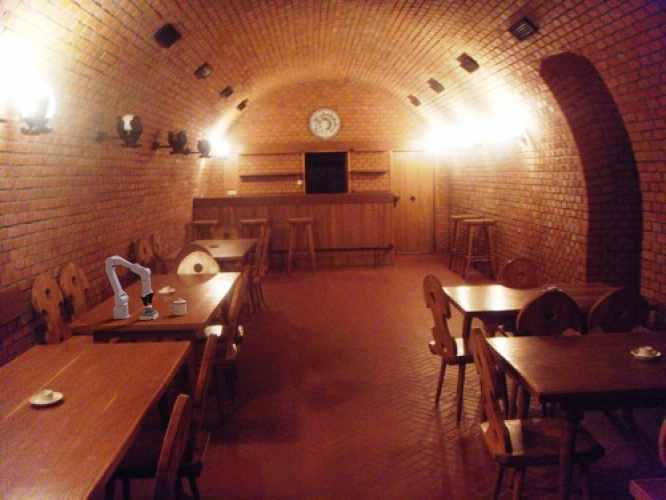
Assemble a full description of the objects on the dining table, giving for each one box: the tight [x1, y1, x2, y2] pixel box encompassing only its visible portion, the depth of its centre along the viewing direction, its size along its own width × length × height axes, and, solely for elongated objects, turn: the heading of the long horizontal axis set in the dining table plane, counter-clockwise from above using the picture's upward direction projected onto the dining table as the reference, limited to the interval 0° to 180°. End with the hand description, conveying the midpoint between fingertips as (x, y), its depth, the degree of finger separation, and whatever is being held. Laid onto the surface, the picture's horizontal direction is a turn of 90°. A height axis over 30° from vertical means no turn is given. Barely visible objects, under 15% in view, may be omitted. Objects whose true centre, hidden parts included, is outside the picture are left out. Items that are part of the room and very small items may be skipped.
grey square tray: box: [139, 309, 159, 321], centre depth 413 cm, size 10×9×4 cm
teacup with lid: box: [168, 297, 188, 316], centre depth 420 cm, size 12×9×12 cm
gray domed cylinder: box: [144, 304, 154, 313], centre depth 412 cm, size 5×5×6 cm
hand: (148, 304), depth 412 cm, fingers open, 7 cm apart
